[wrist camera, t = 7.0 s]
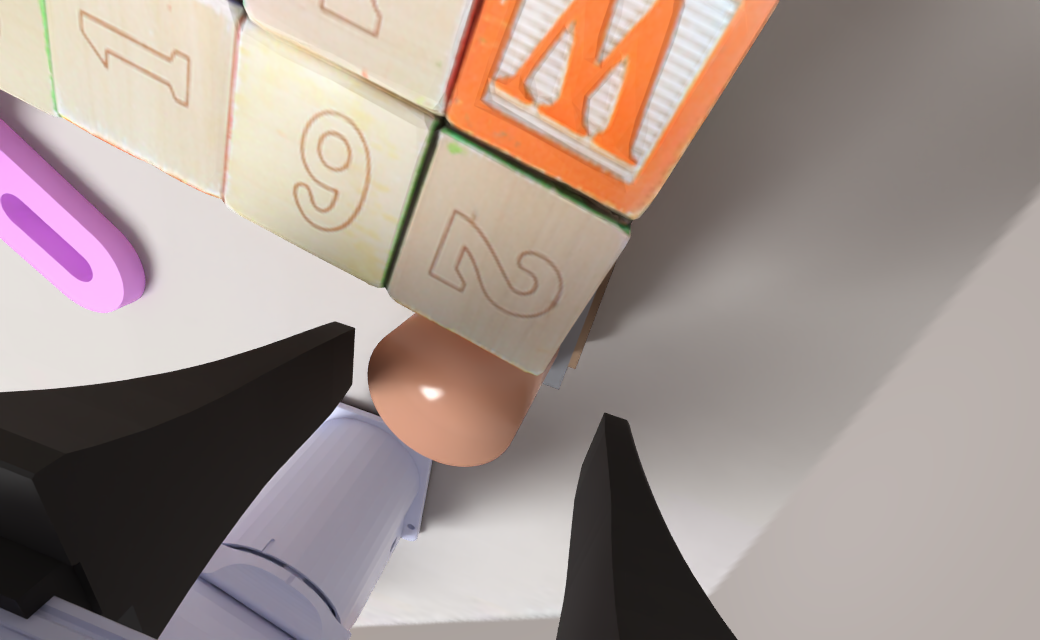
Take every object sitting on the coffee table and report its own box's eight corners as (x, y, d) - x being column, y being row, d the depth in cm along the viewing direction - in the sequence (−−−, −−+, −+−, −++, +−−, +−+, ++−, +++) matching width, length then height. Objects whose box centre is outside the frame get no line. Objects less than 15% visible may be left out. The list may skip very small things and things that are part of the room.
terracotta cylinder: (546, 399, 17) (501, 488, 13) (437, 358, 18) (365, 432, 14) (575, 291, 15) (532, 360, 11) (450, 251, 16) (370, 303, 12)
